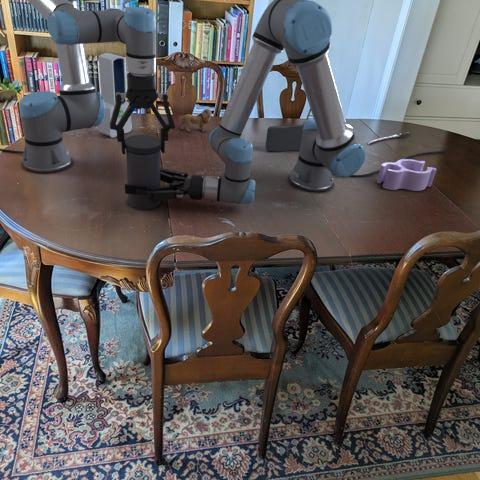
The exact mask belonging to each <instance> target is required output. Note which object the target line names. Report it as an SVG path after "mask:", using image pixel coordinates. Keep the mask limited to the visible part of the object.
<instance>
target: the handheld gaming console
mask: <svg viewBox="0 0 480 480" xmlns="http://www.w3.org/2000/svg"><path fill="white" fill-rule="evenodd" d="M303 127H304V124H292V125H291V124H290V125H289V124H286V125H285V124H284V125H283V124H281V125H270V126H268V127H267V130H266V139H265V145H264V146H265V150H267V151H268V152H289V151H290V152H292V151H294V152H295V151H300V146H301V140H302V134H303Z"/></svg>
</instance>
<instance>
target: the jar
mask: <svg viewBox="0 0 480 480" xmlns="http://www.w3.org/2000/svg"><path fill="white" fill-rule="evenodd" d="M125 155H126V156H125V157H126V179H127V180H126V181H127V183H126V184H130V185H141V186H149V187H150V188H152V187H159V186H161V181H160V168H161V150H159V151H158V152H155V153H150V154H138V153H133V152H130V151H128V150H126V149H125ZM127 202H128V206H129V207H131V208H133V209H135V210H141V211H142V210H144V211H145V210H146V211H147V210H153V209H156V208H157V207H159V206H160V205H161V200H149V199H148V196H146V195H136V194H127Z"/></svg>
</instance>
